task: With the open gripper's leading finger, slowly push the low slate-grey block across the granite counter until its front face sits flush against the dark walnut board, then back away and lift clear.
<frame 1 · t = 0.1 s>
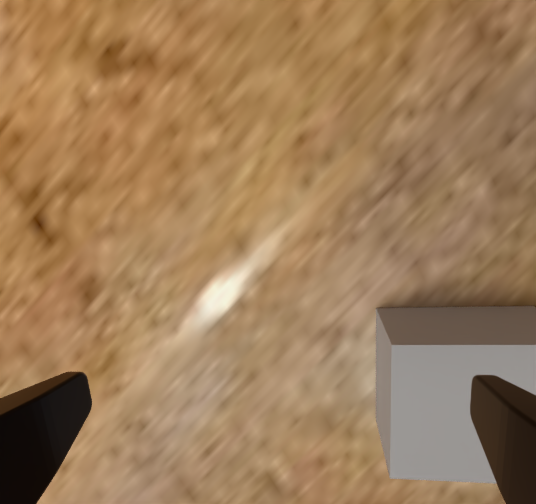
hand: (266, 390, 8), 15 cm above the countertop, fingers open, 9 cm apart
slate block: (448, 364, 23), on the countertop
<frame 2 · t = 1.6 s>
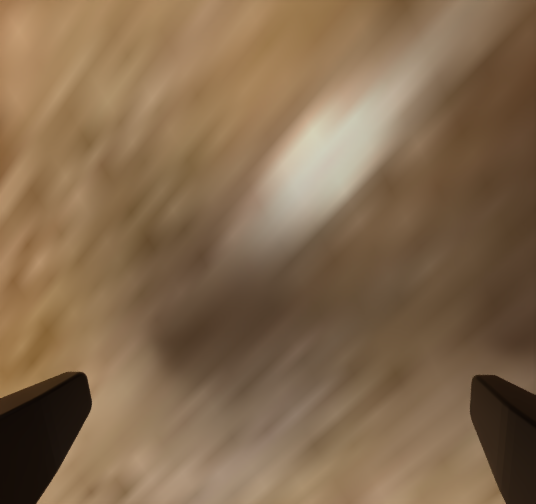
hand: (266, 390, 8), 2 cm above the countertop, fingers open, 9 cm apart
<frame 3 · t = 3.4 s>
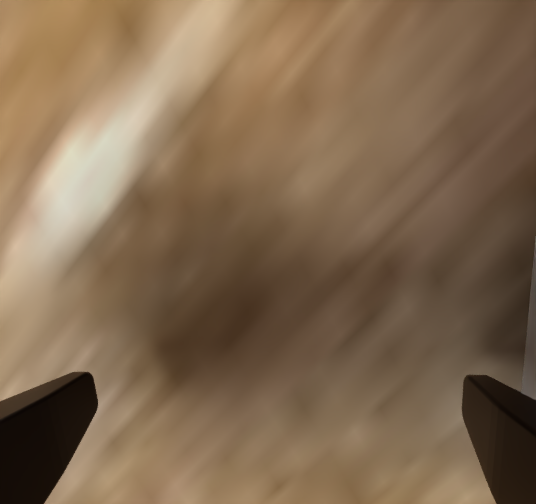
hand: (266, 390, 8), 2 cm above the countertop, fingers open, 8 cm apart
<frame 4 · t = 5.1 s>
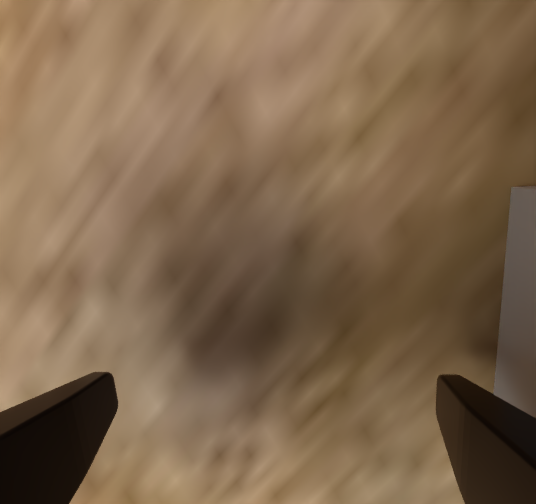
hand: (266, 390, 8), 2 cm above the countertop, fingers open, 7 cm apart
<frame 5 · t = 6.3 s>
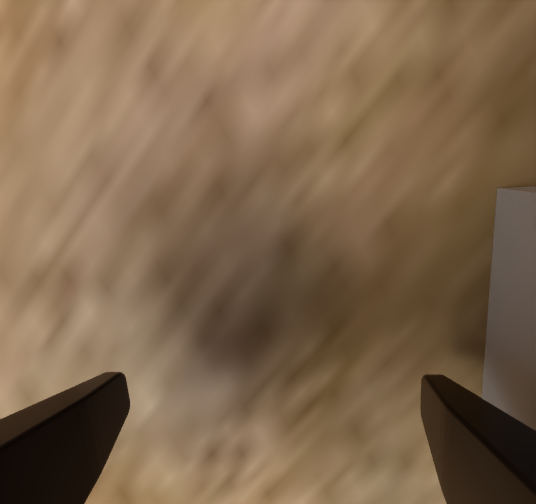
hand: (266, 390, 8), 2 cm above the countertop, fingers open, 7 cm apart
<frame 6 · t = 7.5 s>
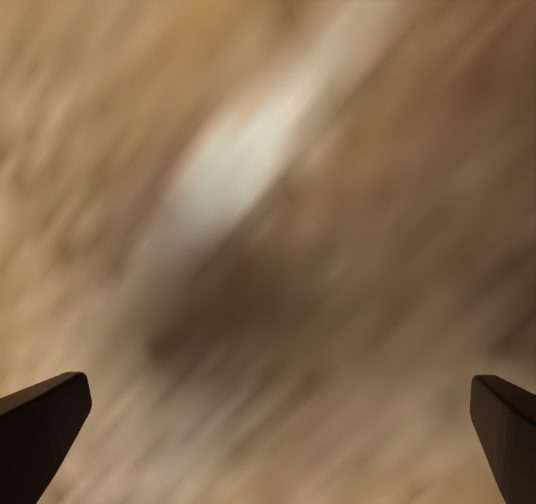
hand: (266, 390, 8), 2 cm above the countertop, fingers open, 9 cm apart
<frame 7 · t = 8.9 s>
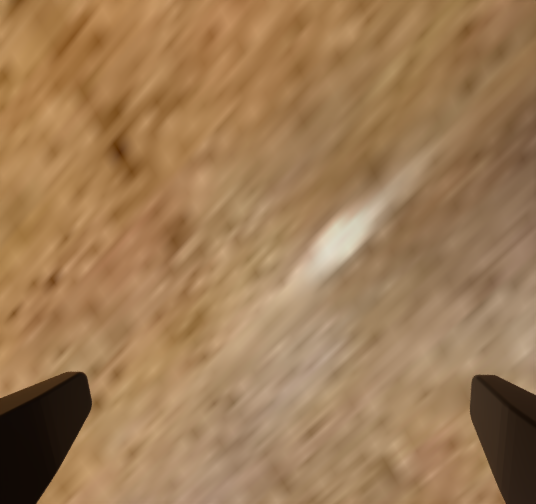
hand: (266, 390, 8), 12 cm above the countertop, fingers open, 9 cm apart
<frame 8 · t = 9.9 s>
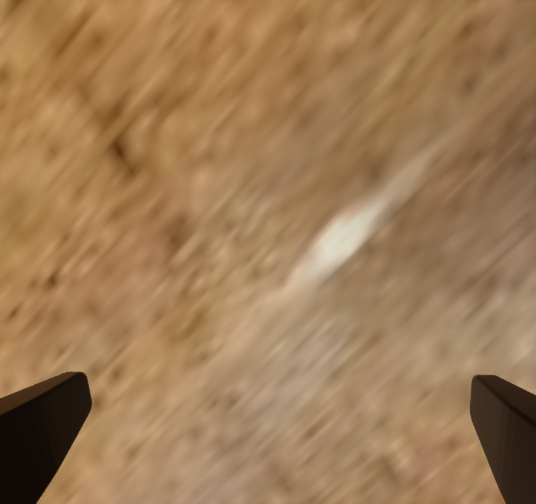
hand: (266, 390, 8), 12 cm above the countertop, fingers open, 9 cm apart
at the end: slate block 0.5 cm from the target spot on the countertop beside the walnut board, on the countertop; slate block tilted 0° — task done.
